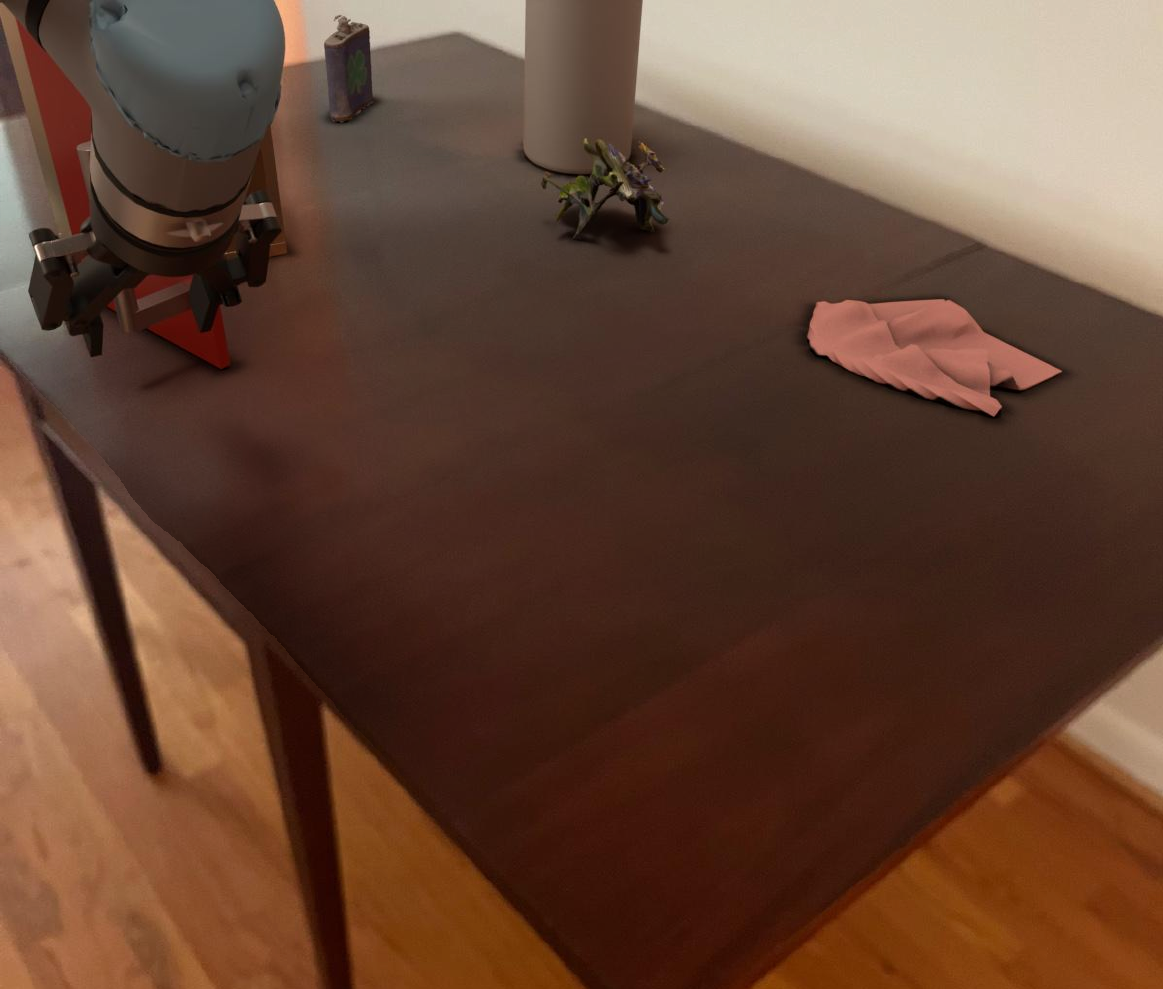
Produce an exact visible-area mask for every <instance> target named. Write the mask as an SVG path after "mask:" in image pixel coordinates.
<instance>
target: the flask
mask: <svg viewBox="0 0 1163 989" xmlns="http://www.w3.org/2000/svg"><path fill="white" fill-rule="evenodd" d="M336 20H337V22H338V24H337V26H336V31H335V32H333V33H332V34H331V35H329V37H327V38H326V39H325V41H324V43H323V48H324V58H325V69H326V81H327V90H328V104H329V117H330V120H331V121H332V122H334V123H336V122H340V123H342V124H343V123H344V122H346V121H351V120H353V117H354V116H357V115H359V114H360V113H361V112H362V109H363V110H365V109H366V107H369V106H370V105H372V104H374V96H373V94H374V93H373V80H372V79H373V78H372V76H373V74H372V57H371V55H372V54H371V40H370V39H371V35H370V33H371V32H370V31H371V30H370V27H369V25H368V24H365V23H362V22H355V21H352V22H351V18H347V16H345V15H342V14H338V15H336V16H334V18H333V21H334V22H336Z"/></svg>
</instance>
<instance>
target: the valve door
mask: <svg viewBox="0 0 1163 989" xmlns="http://www.w3.org/2000/svg"><path fill="white" fill-rule="evenodd" d="M15 19H16V18H15ZM16 22H17V26H18V30H19V34H20V38H21V42H22V45H23V49H24V53H25V57H26V61H27V65H28V68H29V72H30V76H31V80H32V84H33V88H34V92H35V95H36V99H37V103H38V107H39V111H40V115H41V118H42V122H43V126H44V130H45V134H46V138H47V142H48V145H49V149H50V153H51V157H52V161H53V165H54V168H55V172H56V176H57V180H58V184H59V188H60V191H61V195H62V199H63V203H64V207H65V211H66V215H67V218H68V222H69V226H70V230H71V234H72V235H75V234H79V233H80V228H81V225H82V223H83V222H84V221H85V220H86V219H87V218H88V217H89V216H90V152H91V134H92V133H91V115H92V110H91V108H90V106H89V104H88V103H87V101H86V100H85V98H84V97H83V96H82V95H81V93H80V92H79V91H78V90H77V89H76V87H75V86H74V85H73V84H72V82H71V81H70V80H69V79H68V77H67V76H66V75H65V74H64V73H63V71H62V70H61V69H60V68H59V66H58V65H57V64H56V63H55V62H54V60H53V59H52V58H51V57H50V55H49V54H48V53H47V52H45V51H44V50H43V49H42V48H41V47H40V45H39V44H38V43H37V42H36V40H35V39H34V38H33V37H32V35H31V34H30V33H29V32H28V31H27V30H26V29H25V28H24V27H23V26H22V24H21V23H20V22H19V21H18V20H17V19H16ZM85 257H86V256H85ZM85 257H83V258H82V259H81V262H82V261H83V260H84V259H85ZM192 278H193V275H189V276H183V277H164V276H157V275H148V276H147V277H146V278H145V279H144V280H143V281H142V282H141V283H140V284H139V285H138V286H137V287H136V288H130V289H123V290H122V291H121V292H120V293H119V294H118V295H117V296H116V297H115V298H114V299H113V300H112V301H111V302H110V304H109V305H108V306H107V307H106V308H109V309H111V310H112V311H114V312H115V313H116V315H117V319H118V324H119V328H120V330H121V331H122V333H126V334H134V333H138V332H140V331H143V330H144V329H147V330H148V331H151V332H153V333H154V334H156V335H158V336H160V337H162V338H163V339H165V340H166V341H169V342H171V343H172V344H175V345H176V346H178V347H180V348H181V349H183V350H185V351H186V352H188V353H190V354H193V355H194V356H196V357H198V358H200V359H202V360H204V361H206V362H207V363H209V364H211V365H212V366H214V367H216V368H218V369H219V370H222V369H224V368H227V367H229V366H231V358H230V354H229V348H228V342H227V338H226V332H225V330H226V329H225V326H224V319H223V314H222V308H221V305H219V307H218V310H217V313H216V316H215V319H214V322H213V325H212V328H211V331H208V332H204V333H200V331H199V328H198V325H197V323H196V320H195V317H194V314H193V312H192V309H191V306H190V303H189V300H188V298H187V297H188V293H189V289H190V285H191V281H192Z"/></svg>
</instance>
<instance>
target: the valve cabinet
mask: <svg viewBox="0 0 1163 989" xmlns="http://www.w3.org/2000/svg"><path fill="white" fill-rule="evenodd" d="M0 21H1V24H2V28H3V32H4V35H5V39H6V43H7V47H8V50H9V54H10V57H11V62H12V65H13V69H14V73H15V76H16V80H17V81H16V82H17V84H18V88H19V91H20V95H21V99H22V102H23V107H24V111H25V113H26V118H27V122H28V125H29V129H30V132H31V136H32V141H33V143H34V147H35V151H36V155H37V158H38V162H39V167H40V169H41V174H42V177H43V181H44V184H45V188H46V191H47V192H46V193H47V196H48V199H49V200H48V201H49V204H50V208H51V211H52V214H53V219H54V222H55V225H56V229H57V234H60V233H63V234H65V235H66V237H68V236H72V234H71V230H70V226H69V222H68V218H67V215H66V211H65V207H64V203H63V199H62V195H61V191H60V188H59V184H58V180H57V176H56V172H55V168H54V165H53V161H52V157H51V153H50V149H49V145H48V142H47V138H46V134H45V130H44V126H43V122H42V118H41V115H40V111H39V107H38V103H37V99H36V95H35V92H34V88H33V84H32V80H31V76H30V72H29V68H28V65H27V61H26V57H25V53H24V49H23V45H22V42H21V38H20V34H19V30H18V26H17V22H16V19H15V16H14V15H13V14H12V13H11V12H10V11H9V10H8V9H7V7H6V6H5V5H4V4H3V3H0ZM257 190H266V191H268V193H269V196H270V199H271V202H272V204H273V207H274V210H275V213H276V215H277V219H278V221H279V224H280V227H281V230H282V231H281V233H280V234H279V235H278V236H277V237H276V239H275V240H274V241H273V242H272V243H271V245H270V253H269V258H271V257H276V256H281V255H286V254H288V249H287V242H286V235H285V227H284V225H285V224H284V218H283V211H282V210H283V209H282V202H281V196H280V187H279V179H278V172H277V164H276V156H275V148H274V141H273V133H272V124H271V125H270V126H268V127H267V129H266V132H265V136H264V138H263V140H262V143H261V146H260V149H259V152H258V155H257V157H256V164H255V168H254V171H253V172H252V176H251V181H250V184H249V187H248V190H247V193H246V196H245V199H244V201H245V200H246V198H247V197H248V196H249V195H250V194H251V193H253V192H254V191H257ZM236 240H237V232H236V233H235V235H234V237H233V240H232V242H231V244H230V246H229V248H228V249H227V251H226V252H225V255H226V257H227V259H231V258H234V257H237V256H238V255H237V253H236ZM78 266H79V264H78V265H77V267H78Z"/></svg>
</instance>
